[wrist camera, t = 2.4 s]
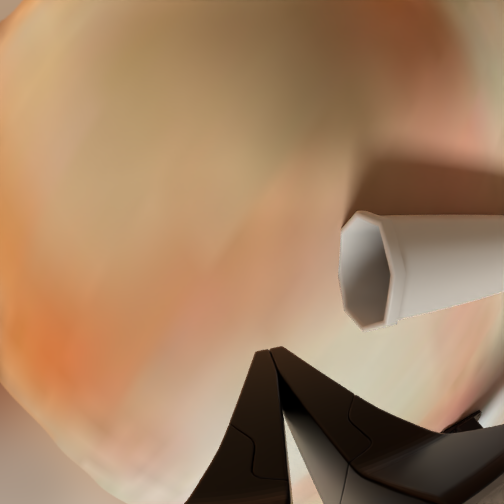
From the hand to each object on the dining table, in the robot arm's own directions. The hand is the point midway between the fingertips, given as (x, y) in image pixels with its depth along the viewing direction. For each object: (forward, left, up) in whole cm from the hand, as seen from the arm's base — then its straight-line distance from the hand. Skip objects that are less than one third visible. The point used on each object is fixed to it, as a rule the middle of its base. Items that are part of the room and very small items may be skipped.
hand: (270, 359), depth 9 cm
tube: (-1, -17, -6) cm, 18 cm away
